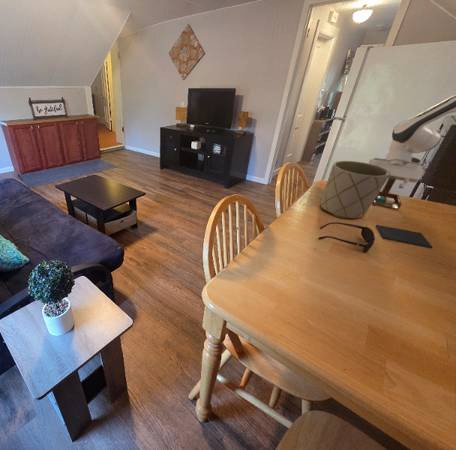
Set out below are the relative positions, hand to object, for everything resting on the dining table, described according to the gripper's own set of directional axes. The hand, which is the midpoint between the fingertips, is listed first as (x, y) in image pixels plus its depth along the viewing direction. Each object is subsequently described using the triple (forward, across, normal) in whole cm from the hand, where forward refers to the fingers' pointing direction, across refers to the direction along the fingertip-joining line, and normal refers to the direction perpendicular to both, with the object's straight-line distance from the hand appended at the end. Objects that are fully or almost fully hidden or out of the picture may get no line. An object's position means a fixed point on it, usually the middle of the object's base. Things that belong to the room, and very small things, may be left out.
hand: (388, 185), depth 120 cm
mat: (+33, +4, -24) cm, 41 cm away
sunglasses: (+45, -15, -36) cm, 59 cm away
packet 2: (+9, +2, -2) cm, 9 cm away
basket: (+9, 0, 0) cm, 9 cm away
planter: (+26, -16, -17) cm, 35 cm away
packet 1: (+9, -2, -2) cm, 9 cm away
